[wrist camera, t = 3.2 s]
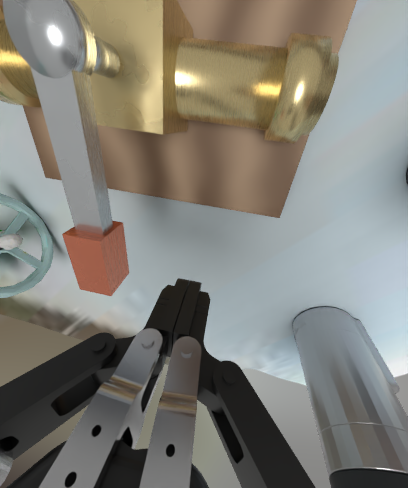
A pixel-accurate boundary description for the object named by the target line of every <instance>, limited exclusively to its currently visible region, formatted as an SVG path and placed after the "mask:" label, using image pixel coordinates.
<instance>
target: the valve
mask: <svg viewBox="0 0 408 488" xmlns="http://www.w3.org/2000/svg"><path fill="white" fill-rule="evenodd" d="M0 204H3V205H5V206H8V207H11V208H13V209H15V210H16V211H18V212H19V214H18V215H17V216H16V218H15V219H14V220H13V221H12V223H11V224H10V225H9V226H8V228H7V229H6V230H5V231H2V230H0V254H1V253H6V252H7V253H9V254H11V255H13V256H14V257H16V258H18V259H20V260H22V261H23V262H25V263H27V264H29V265H31V266H32V267H34V268H36V270H35V271H34V272H33V273H32V274H31V275H30V276H28V277H27V278H26V279H25V280H24V281H22V282H20V283H18V284H16V285H13V286H7V287H0V298H7V297H10V296H14V295H16V294H19V293H21V292H24V291H26V290H28V289H30V288H32V287H33V286H35V285H36V284H37V283H38V282H40V281H41V280H42V278H43V277H44V275H45V274H46V273H47V271H48V270H49V268H50V266H51V263H52V259H53V244H52V237H51V236H50V234H49V232H48V230H47V228H46V226H45V224H44V222H43V220H42V219H41V218H40V217H39V216H38V215H37V214H36V213H35V212H34V211H32V210H31V209H30V208H28V207H27V206H26V205H25V204H23V203H22V202H20V201H18V200H15V199H13V198H11V197H8V196H6V195H3V194H1V193H0ZM26 220H28V221H29V222H30V223H31V224H32V225H34V227H35V228H36V229H37V231H38V233H39V235H40V237H41V241H42V257H41V261H40V260H38V259H36V258H34V257H33V256H31V255H29V254H28V253H26V252H24V251H22V250H21V249H19V248H17V246H19V245H21V243H22V238H21V237H20V236H19V235H17V234H16V233H17V231H18V230H19V229H20V228H21V226H22V225H23V224H24V223H25V221H26Z"/></svg>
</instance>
